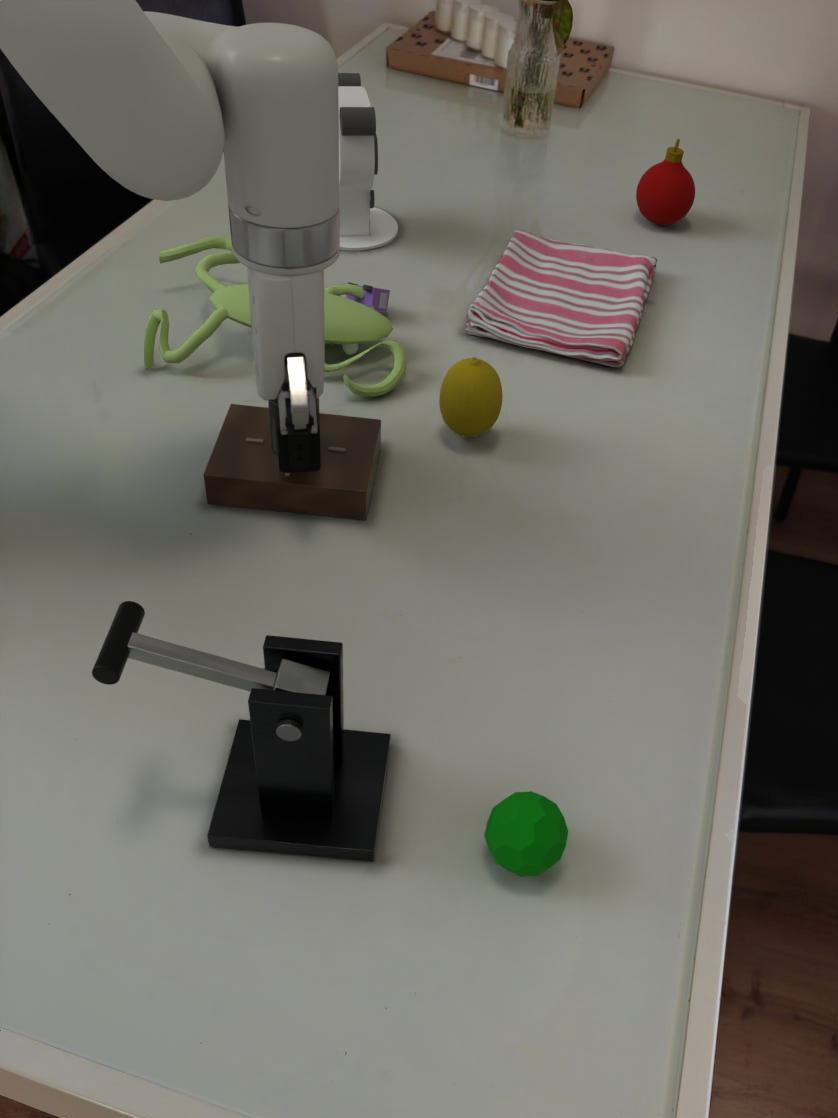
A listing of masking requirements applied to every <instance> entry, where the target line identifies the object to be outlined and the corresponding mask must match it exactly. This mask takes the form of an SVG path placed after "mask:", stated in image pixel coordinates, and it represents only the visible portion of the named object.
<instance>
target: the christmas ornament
mask: <svg viewBox="0 0 838 1118" xmlns="http://www.w3.org/2000/svg"><path fill="white" fill-rule="evenodd" d="M679 146H680V138H676V140H675V144H674V146H670V147H669V146H668V147H667V148H666V152H665V153H666V154H665V157H664V159H663V160H662V161H661V162H658V163H656V164H653V165H652V166H650V167H649V168H648V169H647V170H645V172H644V173H643V174H642V175H641V177H640V179H639V180H638V183H637V186H636V192H635V200H636V205H637V208H638V210H639V212H640V213H641V215H642V216H643V217H644V218H645V219H646V220H647V221H648V222H650V223H652V224H654V225H657V226H668V225H673V224H675V223H678V222H679V221H681V220H683V218H684V217H686V216H687V214H688V213H689V212H690V211H691V209H692V207H693V205H694V202H695V199H696V185H695V181H694V178H693V176H692V174H691V172H689V170H688V169H687V168H686V167H685V166H684V164H683V156H684V154H685V151H684V149H682V148H680V147H679Z"/></svg>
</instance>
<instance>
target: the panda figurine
mask: <svg viewBox="0 0 838 1118" xmlns="http://www.w3.org/2000/svg"><path fill="white" fill-rule="evenodd" d="M361 80H362V78H361V74H360V72H338V107H339V219H340V251H349V252H350V251H351V252H355V251H356V252H357V251H358V252H359V251H369V250H374V249H377V248H381V247H384V246H386V245H388V244H390V243H391V242H393V241H394V240H395V239H396V237H397V235H398V233H399V224H398V222H397V220H396V219H395V217H393V216H392V215H391V214H390V213H388V212H387V211H384V210H383V209H381V208H378V207H375V201H376V199H375V198H376V197H375V190H374V189H372V188H373V185H374V181H375V176H377V175H378V172H379V145H378V144H379V143H378V135H377V117H376V110H375V109H376V108H375V107H374V106H371V101H370V99H369V96H368V93H367V90H366V88H365V87H364V86H362V81H361Z"/></svg>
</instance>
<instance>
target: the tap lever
mask: <svg viewBox="0 0 838 1118" xmlns="http://www.w3.org/2000/svg"><path fill="white" fill-rule="evenodd" d="M145 615H146V611H145V608H144V607H143V605H141V604H140V603H138V602H136V601H133V600H125V601H122V602H120V604H119V605H118V608H117V610H116V613H115V615H114V617H113V620H112V622H111V625H110V627H109V629H108V631H107V634H106V637H105V638H104V640H103V642H102V645H101V648H100V650H99V653H98V655H97V658H96V660H95V662H94V665H93V668H92V670H91V675H92V678H93V679H94V680H95V681H97V682H98V683H99V684H103V685H107V686H108V685H109V686H113V685H115V684H117V683H118V682H120V679H121V677H122V674H123V671H124V669H125V668H126V664H127V661H128V660H129V659H130V660H135V661H136V662H137V661H138V662H141V663H144V664H149V665H152V666H154V667H155V666H156V667H160V668H163V669H167V670H170V671H174V672H177V673H181V674H185V675H188V676H191V677H196V678H200V679H201V680H207V681H209V682H214V683H217V684H220V685H225V686H227V687H232V688H235V689H238V690H243V691H246V692H249V693H250V692H251V689H252V688H257V689H267V690H277V691H287V692H298V693H308V694H318V695H325V694H326V689H327V685H328V680H329V675H330V672H329V671H325V670H322V669H318V668H315V667H311V666H308V665H304V664H301V663H297V662H294V661H290V660H287V659H282V660H281V663H280V666H279V668H278V671H277V673H276V672H272V671H269V670H265V668H262V667H258V666H256V665H255V666H254V665H251V664H247V663H243V662H240V661H237V660H233V659H230V658H226V657H224V656H223V657H222V656H219V655H215V654H212V653H208V652H204V651H202V650H197V649H195V648H190V647H187V646H183V645H180V644H177V643H173V642H171V641H170V642H169V641H167V640H163V639H159V638H155V637H151V636H148V635H145V634H141V633H139V631H140V629H141V625H142V623H143V620H144V618H145Z"/></svg>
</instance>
